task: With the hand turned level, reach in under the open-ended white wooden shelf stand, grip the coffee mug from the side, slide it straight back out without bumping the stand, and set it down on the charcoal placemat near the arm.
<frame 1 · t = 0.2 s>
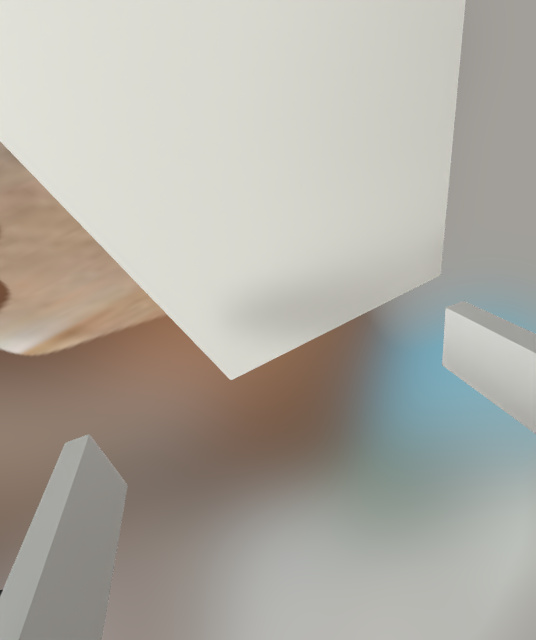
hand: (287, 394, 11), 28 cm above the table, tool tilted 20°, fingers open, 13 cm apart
shelf stand: (190, 57, 25), on the table
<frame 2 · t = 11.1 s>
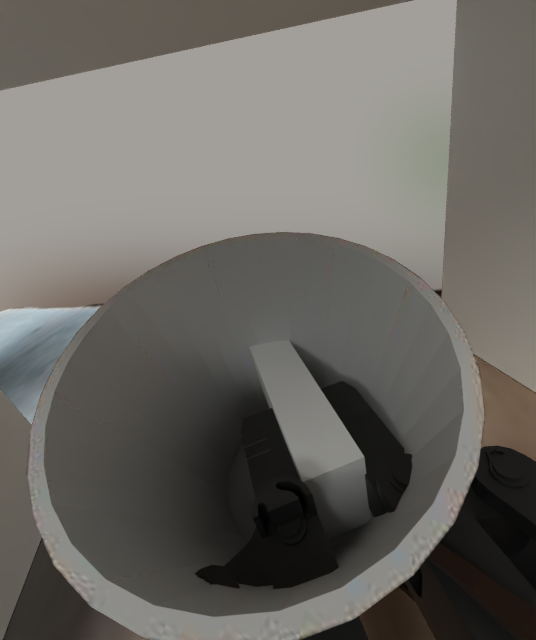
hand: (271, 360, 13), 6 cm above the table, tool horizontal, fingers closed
coffee mug: (303, 521, 13), on the table
shelf stand: (312, 512, 13), on the table
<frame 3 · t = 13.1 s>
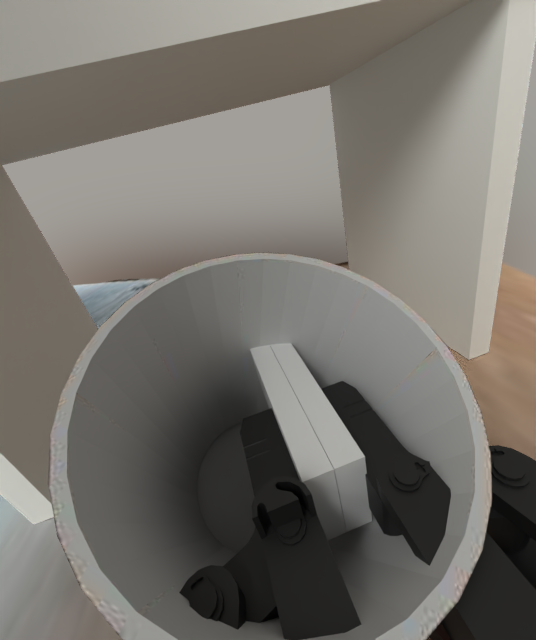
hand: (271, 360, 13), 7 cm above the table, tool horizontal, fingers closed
coffee mug: (265, 519, 14), point 1 cm above the table, touching gripper, hand
shelf stand: (254, 359, 25), on the table
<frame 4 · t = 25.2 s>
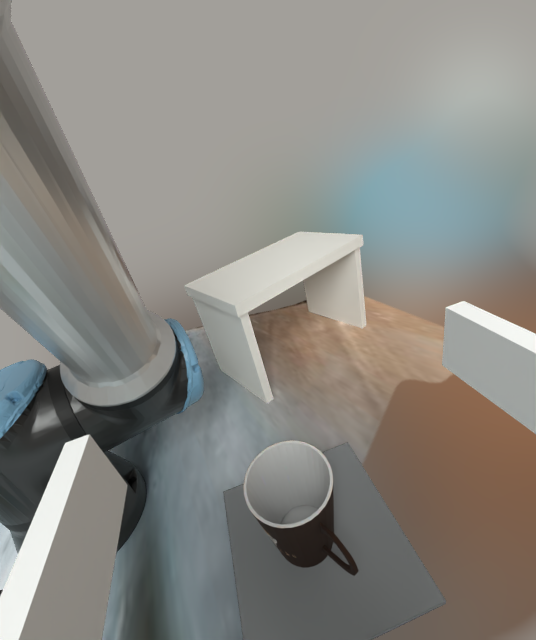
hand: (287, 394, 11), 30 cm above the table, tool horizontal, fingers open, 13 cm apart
coffee mug: (309, 549, 33), resting on placemat
shelf stand: (294, 347, 66), on the table
placemat: (313, 538, 34), on the table
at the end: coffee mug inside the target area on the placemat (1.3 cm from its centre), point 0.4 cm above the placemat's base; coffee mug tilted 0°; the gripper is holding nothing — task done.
